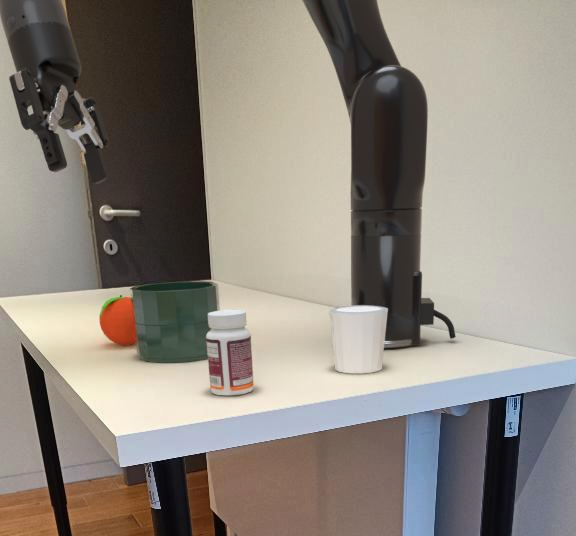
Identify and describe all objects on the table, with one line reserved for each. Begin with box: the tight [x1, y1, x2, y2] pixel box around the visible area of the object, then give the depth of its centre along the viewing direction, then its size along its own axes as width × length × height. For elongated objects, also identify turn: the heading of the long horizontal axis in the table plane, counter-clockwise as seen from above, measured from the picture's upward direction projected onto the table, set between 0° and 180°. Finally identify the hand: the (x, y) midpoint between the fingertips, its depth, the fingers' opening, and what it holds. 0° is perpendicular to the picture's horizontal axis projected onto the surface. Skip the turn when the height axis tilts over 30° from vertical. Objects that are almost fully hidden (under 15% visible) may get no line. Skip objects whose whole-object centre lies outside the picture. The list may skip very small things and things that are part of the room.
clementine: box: [99, 294, 136, 346], centre depth 109 cm, size 8×7×7 cm
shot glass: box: [328, 305, 388, 375], centre depth 89 cm, size 7×7×7 cm
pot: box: [129, 280, 221, 364], centre depth 101 cm, size 11×11×9 cm
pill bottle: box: [206, 309, 255, 397], centre depth 80 cm, size 5×5×8 cm
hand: (80, 175), depth 91 cm, fingers open, 8 cm apart
